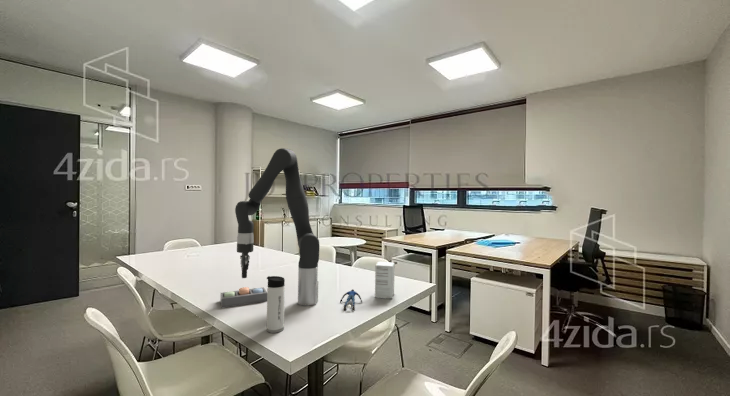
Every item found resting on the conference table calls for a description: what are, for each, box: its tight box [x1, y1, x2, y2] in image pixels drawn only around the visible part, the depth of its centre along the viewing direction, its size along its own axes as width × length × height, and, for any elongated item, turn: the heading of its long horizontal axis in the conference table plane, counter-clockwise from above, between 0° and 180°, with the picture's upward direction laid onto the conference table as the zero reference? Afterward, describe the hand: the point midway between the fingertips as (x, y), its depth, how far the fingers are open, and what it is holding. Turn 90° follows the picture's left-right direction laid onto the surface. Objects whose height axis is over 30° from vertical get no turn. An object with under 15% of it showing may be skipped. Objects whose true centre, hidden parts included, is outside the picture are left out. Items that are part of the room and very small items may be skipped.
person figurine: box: [339, 289, 363, 311], centre depth 139 cm, size 11×4×18 cm
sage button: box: [224, 291, 235, 297], centre depth 138 cm, size 5×5×4 cm
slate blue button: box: [252, 287, 263, 293], centre depth 144 cm, size 5×5×4 cm
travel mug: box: [266, 275, 286, 334], centre depth 111 cm, size 6×7×20 cm
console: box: [219, 287, 267, 309], centre depth 141 cm, size 20×10×4 cm, turn 119°
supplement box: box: [374, 261, 396, 299], centre depth 153 cm, size 10×9×17 cm
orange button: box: [238, 286, 250, 295], centre depth 141 cm, size 5×5×4 cm
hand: (244, 277), depth 141 cm, fingers closed
